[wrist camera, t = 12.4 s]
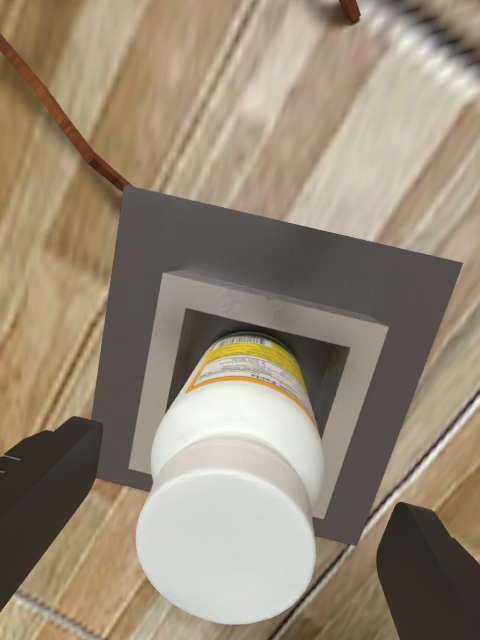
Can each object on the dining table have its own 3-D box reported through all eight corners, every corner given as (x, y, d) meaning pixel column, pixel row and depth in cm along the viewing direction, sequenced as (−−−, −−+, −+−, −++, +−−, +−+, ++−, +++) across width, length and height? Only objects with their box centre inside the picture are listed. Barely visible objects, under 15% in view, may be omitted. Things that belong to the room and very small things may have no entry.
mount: (132, 189, 16) (96, 170, 12) (450, 262, 15) (504, 264, 12) (92, 463, 19) (54, 508, 16) (351, 530, 18) (371, 593, 15)
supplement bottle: (247, 307, 15) (220, 385, 6) (324, 381, 16) (410, 562, 6) (176, 379, 16) (56, 543, 7) (249, 447, 17) (229, 685, 7)
